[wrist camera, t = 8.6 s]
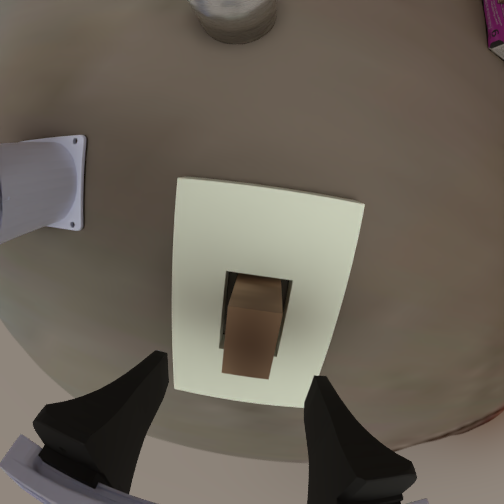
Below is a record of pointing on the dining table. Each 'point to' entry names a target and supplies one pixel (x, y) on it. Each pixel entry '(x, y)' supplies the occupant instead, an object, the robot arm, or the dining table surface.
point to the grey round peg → (235, 19)
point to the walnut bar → (252, 326)
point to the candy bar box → (495, 25)
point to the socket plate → (262, 264)
